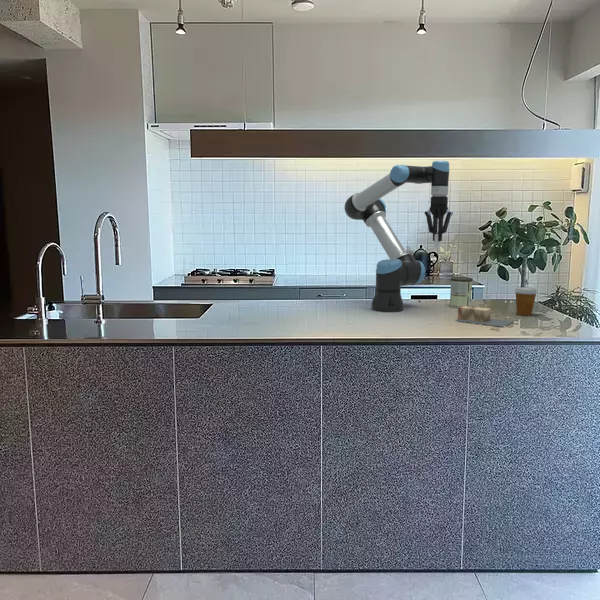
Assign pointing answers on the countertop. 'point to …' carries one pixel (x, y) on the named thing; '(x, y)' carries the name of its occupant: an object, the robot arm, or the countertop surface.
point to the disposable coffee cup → (525, 300)
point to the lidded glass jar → (461, 291)
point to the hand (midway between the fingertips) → (436, 248)
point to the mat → (489, 322)
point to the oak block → (474, 313)
